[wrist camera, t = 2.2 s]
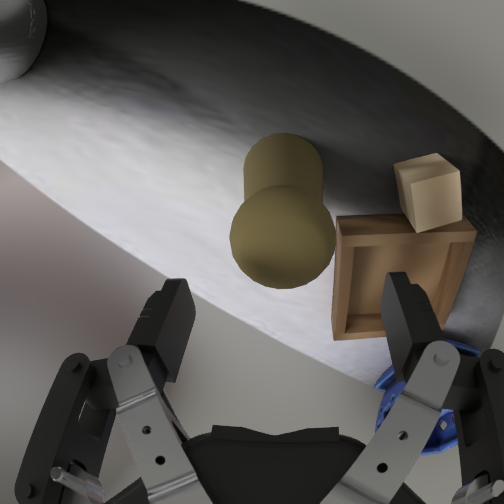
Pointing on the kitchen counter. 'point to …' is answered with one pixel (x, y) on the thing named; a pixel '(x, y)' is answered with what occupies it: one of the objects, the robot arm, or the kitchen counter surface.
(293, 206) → the cork
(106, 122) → the kitchen counter surface
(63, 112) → the kitchen counter surface
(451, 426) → the flower pot
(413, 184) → the beech block
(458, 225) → the tray
